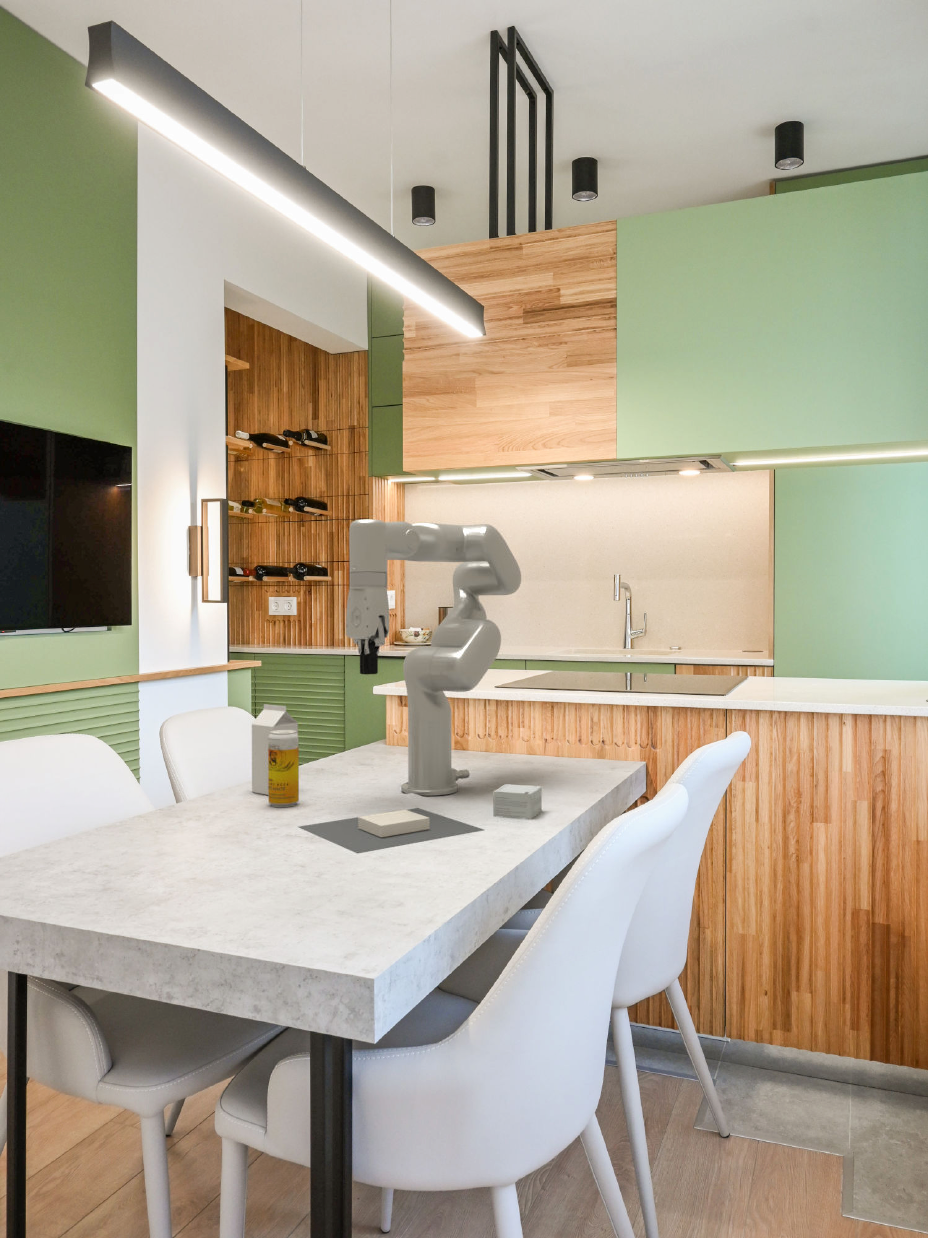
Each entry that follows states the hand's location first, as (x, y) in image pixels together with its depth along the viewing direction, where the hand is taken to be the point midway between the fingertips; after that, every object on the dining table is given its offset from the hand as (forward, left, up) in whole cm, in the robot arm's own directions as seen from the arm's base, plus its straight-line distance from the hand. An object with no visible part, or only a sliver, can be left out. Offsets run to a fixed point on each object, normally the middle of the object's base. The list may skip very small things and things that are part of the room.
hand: (368, 673), depth 182 cm
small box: (-22, +20, -28) cm, 40 cm away
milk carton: (+8, -27, -27) cm, 39 cm away
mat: (+6, +18, -27) cm, 33 cm away
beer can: (+12, -14, -27) cm, 33 cm away
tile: (+6, +15, -25) cm, 30 cm away
